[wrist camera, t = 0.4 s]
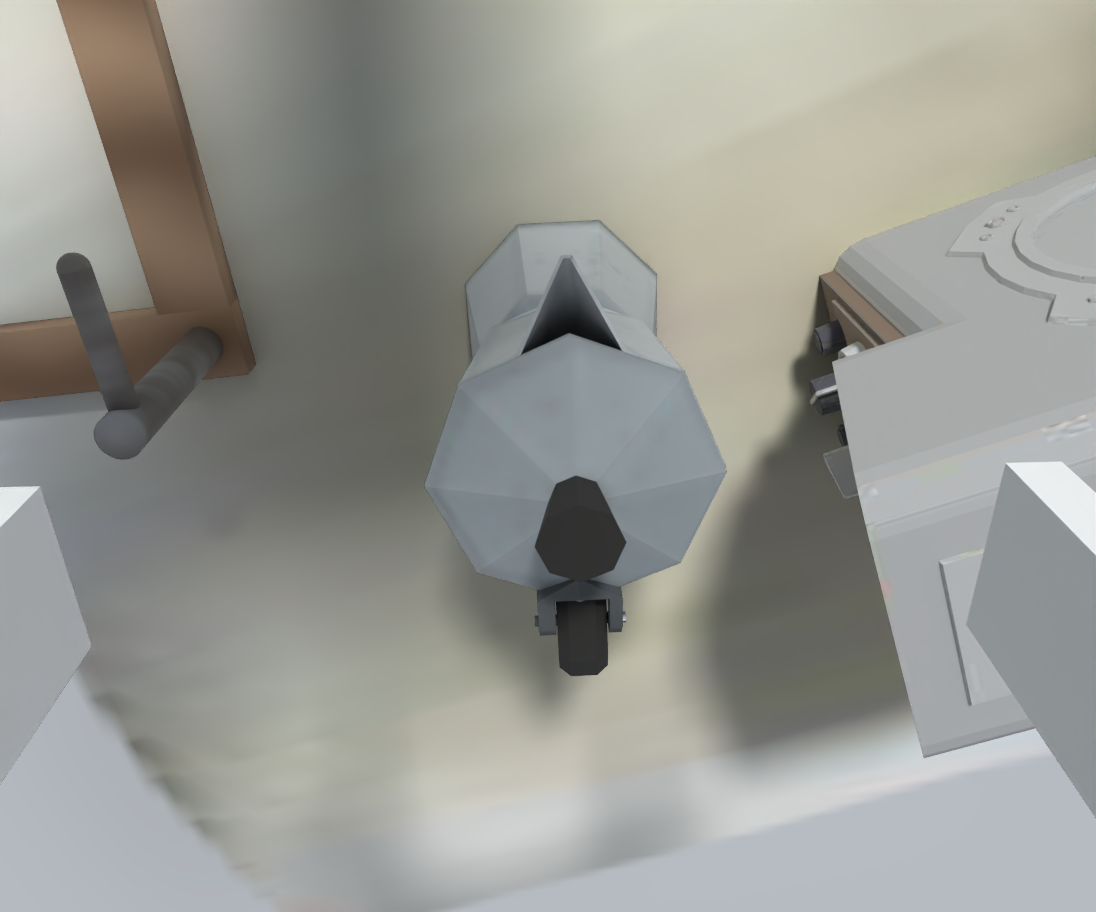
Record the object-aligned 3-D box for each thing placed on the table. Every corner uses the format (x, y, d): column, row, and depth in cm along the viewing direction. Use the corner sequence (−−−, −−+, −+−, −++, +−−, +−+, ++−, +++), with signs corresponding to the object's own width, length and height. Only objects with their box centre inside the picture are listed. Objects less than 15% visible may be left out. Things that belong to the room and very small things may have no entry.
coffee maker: (445, 170, 36) (374, 316, 20) (665, 158, 36) (770, 295, 20) (477, 494, 43) (443, 795, 27) (662, 485, 43) (739, 781, 27)
